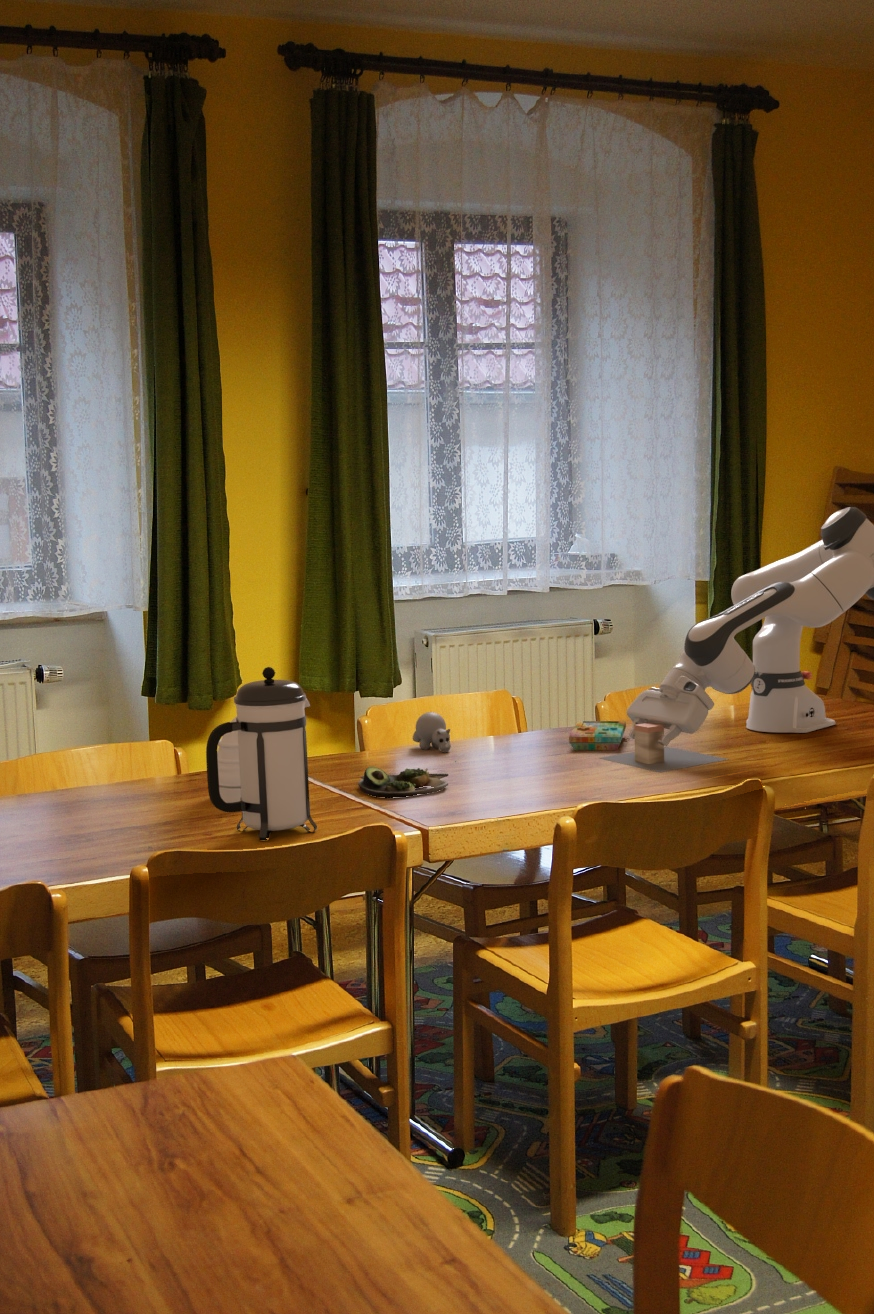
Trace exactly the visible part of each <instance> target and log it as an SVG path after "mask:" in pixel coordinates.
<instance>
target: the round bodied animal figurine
mask: <svg viewBox="0 0 874 1314" xmlns="http://www.w3.org/2000/svg"><path fill="white" fill-rule="evenodd" d="M446 725H447V724H446V721H445V719H444V717H443V716H441V714H439V713H437V712H435V711H433V712H432V711H430V712H425V713H422V714H421V715H420V716H419V717H418V718H417V721H416V722H415V730H414V732H413V735H412V740H413V741H414V742H415V743H419V748H420V749H421V750H426V751H427V750H429V749H430V748H431V747H433V749H434V748H436V749H439V750H440V752H442V753H448V752H449V751H450V750H451V748H452V747H451V745H452V744H451V742H450V740H451V736H450V732H451V728H449V729H447V726H446Z"/></svg>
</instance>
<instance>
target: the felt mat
mask: <svg viewBox="0 0 874 1314" xmlns="http://www.w3.org/2000/svg"><path fill="white" fill-rule="evenodd" d="M599 759H600V760H605V761H608V762H609V761H610V762H613V763H616V764H617V763H618V764H620V765H621V764H623V765H627V766H629V767H630V766H631V767H635V768H639V769H643V770H647V771H652V772H656V773H664V772H665V773H666V772H671V771H676V770H680V769H687V768H692V767H697V766H702V765H708V764H712V763H719V762H723V761H728V760H730V759H729V758H724V757H720V756H716V755H715V756H714V755H710V754H705V753H700V752H696V751H690V750H686V749H681V748H676V747H672V746H668V745H667V746H664V761H663V762H658V763H652V764H646V763H641V762H637V761H635V751H632V752H631V751H630V752H625V753H620V754H614V755H609V756H603V757H599Z"/></svg>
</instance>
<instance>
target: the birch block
mask: <svg viewBox="0 0 874 1314" xmlns="http://www.w3.org/2000/svg"><path fill="white" fill-rule="evenodd" d="M661 735H665V729H664V725H661V724H655V723H643V724H637V725H634V739H633V740H634V752H635V761H637V762H641V763H646V764H652V763H658V762H663V761H664V747H665V746H664V745H661V744H660V743H659V742H658V740H659V738H660V736H661Z"/></svg>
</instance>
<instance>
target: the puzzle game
mask: <svg viewBox="0 0 874 1314" xmlns="http://www.w3.org/2000/svg"><path fill="white" fill-rule="evenodd" d="M626 727H627V722H626V721H622V720H616V721H615V720H612V721H611V720H607V721H606V720H597V721H596V720H581V721H577V722H576V724H575V726H574V728H573V729H572V731H571V732H570V733H569V736H568V742H569V745H570V746H571V747H572V749H573V750H574V751H575V752H577V751H582V750H583V751H586V750H587V751H617V750H618V749H619V747H620V745H621V742H622V740H623V737H624V733H625V731H626Z"/></svg>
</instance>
